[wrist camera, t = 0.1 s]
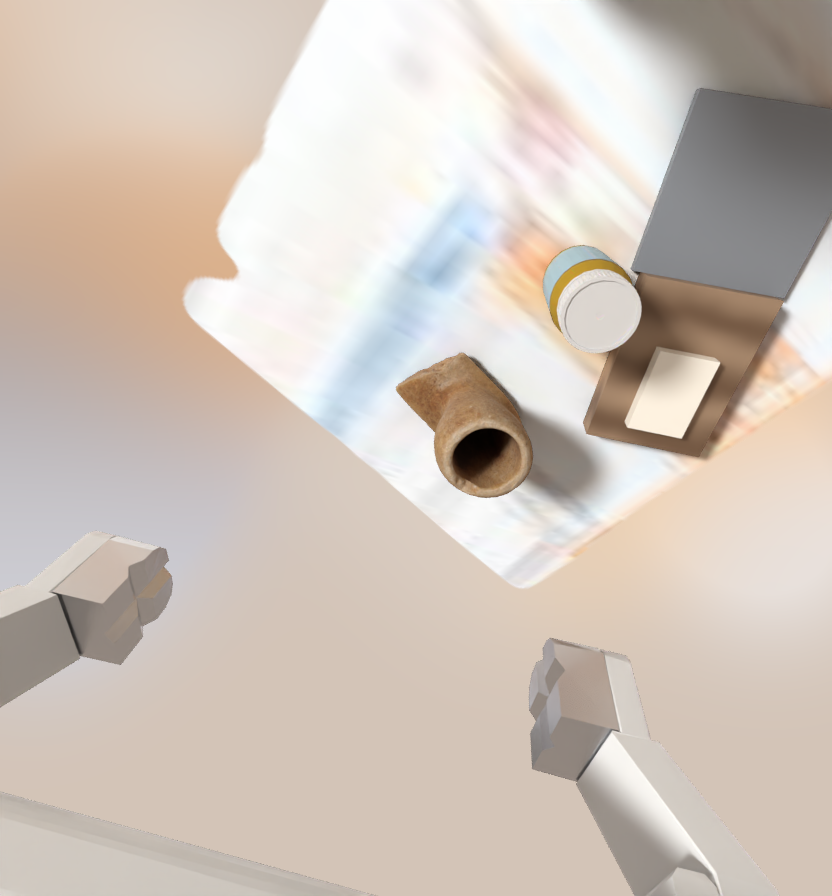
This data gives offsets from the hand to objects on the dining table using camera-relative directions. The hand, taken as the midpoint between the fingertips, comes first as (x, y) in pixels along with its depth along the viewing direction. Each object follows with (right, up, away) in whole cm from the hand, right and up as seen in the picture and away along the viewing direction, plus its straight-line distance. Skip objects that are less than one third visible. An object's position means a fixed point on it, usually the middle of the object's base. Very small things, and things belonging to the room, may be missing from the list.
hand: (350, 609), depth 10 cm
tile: (+29, +10, +42) cm, 52 cm away
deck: (+30, +13, +43) cm, 54 cm away
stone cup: (+8, +10, +49) cm, 51 cm away
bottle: (+18, +21, +41) cm, 49 cm away
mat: (+32, +27, +35) cm, 54 cm away
